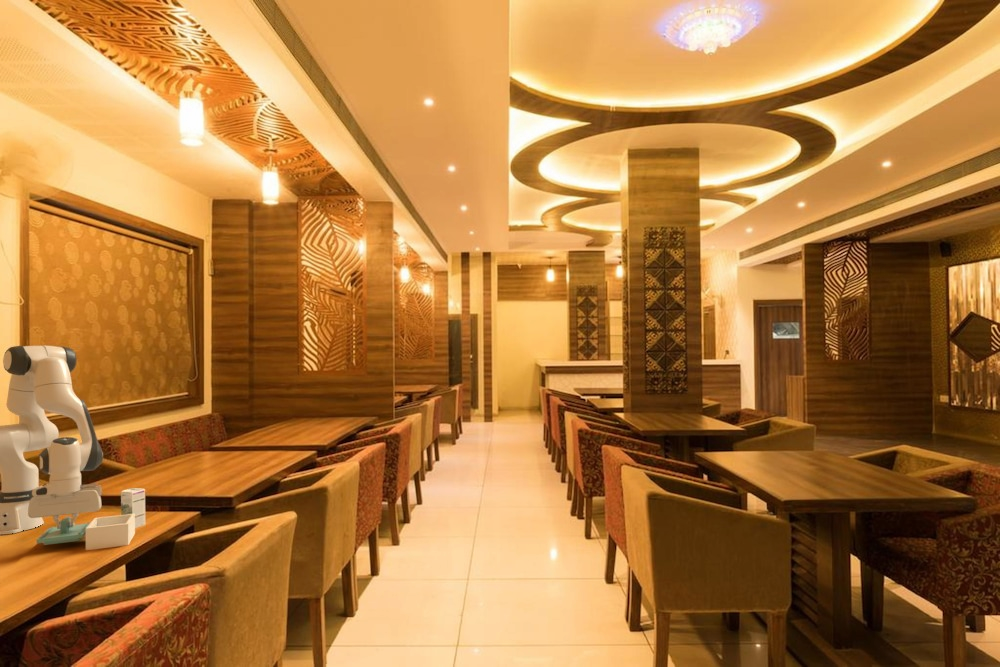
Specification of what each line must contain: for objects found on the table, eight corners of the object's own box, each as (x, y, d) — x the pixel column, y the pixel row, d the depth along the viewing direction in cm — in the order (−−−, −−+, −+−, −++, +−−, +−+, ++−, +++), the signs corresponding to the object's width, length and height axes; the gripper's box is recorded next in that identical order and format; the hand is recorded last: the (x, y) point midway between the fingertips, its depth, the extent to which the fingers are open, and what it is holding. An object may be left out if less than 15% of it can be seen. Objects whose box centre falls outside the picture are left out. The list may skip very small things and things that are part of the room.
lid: (36, 547, 197) (36, 527, 197) (49, 534, 211) (49, 516, 211) (83, 541, 202) (82, 521, 202) (92, 529, 216) (92, 511, 216)
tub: (85, 553, 199) (85, 528, 200) (95, 541, 212) (95, 517, 213) (128, 547, 204) (128, 523, 204) (135, 536, 217) (134, 513, 217)
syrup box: (146, 527, 228) (146, 488, 229) (132, 531, 223) (131, 491, 223) (134, 526, 230) (134, 487, 230) (120, 530, 224) (120, 490, 225)
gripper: (103, 481, 214) (103, 521, 214) (32, 487, 206) (32, 529, 206) (99, 484, 208) (100, 525, 208) (26, 491, 200) (26, 534, 200)
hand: (65, 527), depth 207 cm, fingers closed on lid
